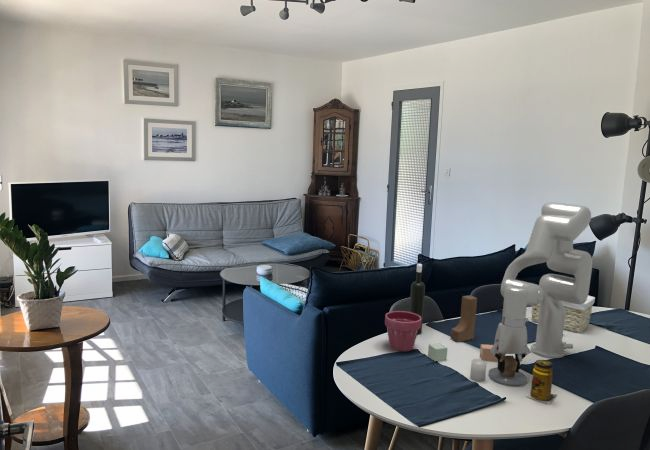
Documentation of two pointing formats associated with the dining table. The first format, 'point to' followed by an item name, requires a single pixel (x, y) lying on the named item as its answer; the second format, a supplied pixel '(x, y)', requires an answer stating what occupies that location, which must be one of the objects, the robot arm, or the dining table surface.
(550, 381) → the condiment
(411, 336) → the plant pot
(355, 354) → the dining table surface
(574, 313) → the storage basket
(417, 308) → the wine bottle
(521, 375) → the slate coaster
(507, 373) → the walnut block
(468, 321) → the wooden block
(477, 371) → the grey cylinder
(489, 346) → the terracotta brick
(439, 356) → the sage cube
